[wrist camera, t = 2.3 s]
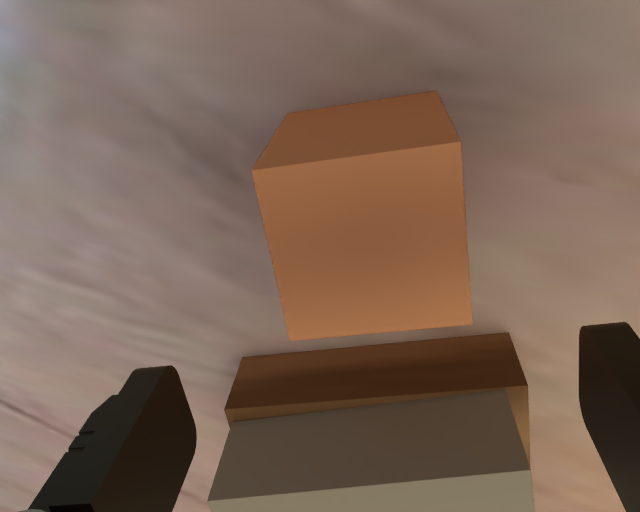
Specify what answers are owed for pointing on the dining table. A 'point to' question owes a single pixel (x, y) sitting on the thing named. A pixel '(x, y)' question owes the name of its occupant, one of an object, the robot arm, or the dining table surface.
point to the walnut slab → (379, 377)
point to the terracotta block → (367, 218)
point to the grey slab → (379, 459)
